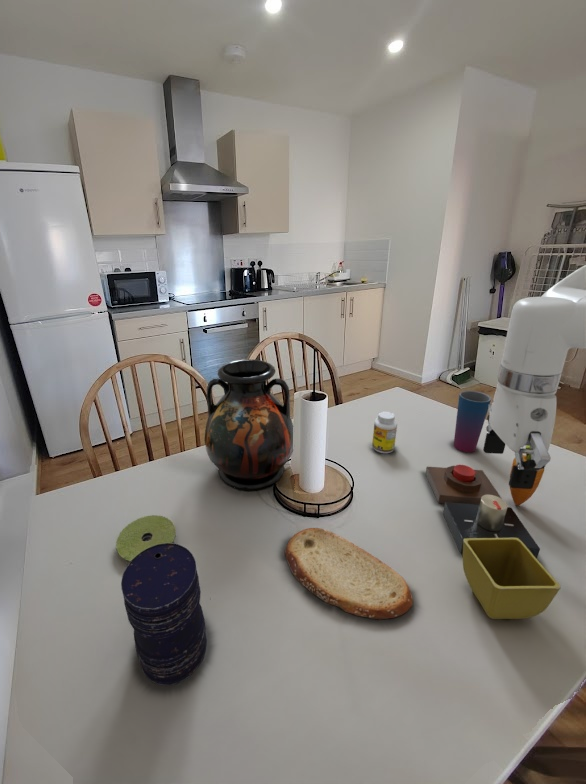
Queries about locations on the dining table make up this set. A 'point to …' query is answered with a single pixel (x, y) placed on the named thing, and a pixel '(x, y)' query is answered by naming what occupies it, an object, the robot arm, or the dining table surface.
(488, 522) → the dial
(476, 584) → the flower pot
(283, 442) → the amphora vase
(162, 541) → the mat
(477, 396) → the cup
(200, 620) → the navy ridged drum
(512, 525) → the control panel
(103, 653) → the dining table surface
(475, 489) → the button block
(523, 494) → the carrot
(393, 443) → the supplement bottle
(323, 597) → the bread slice
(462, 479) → the button
